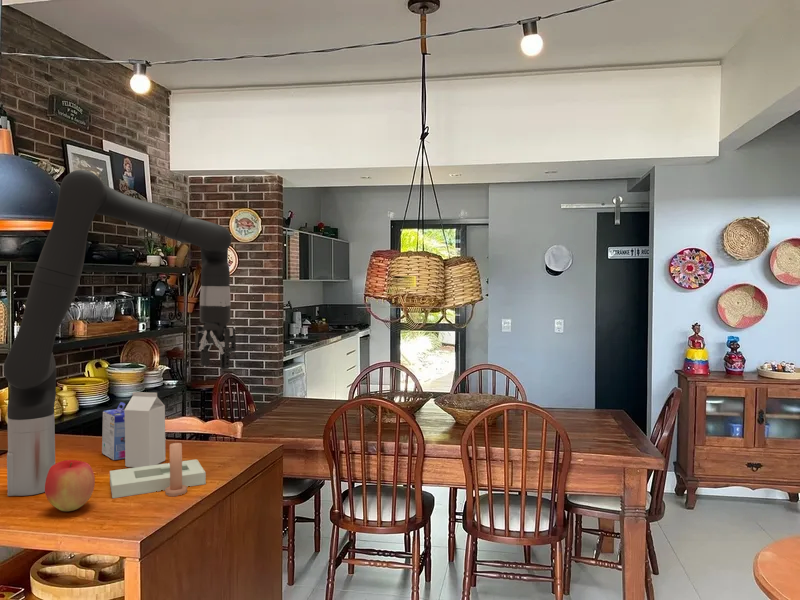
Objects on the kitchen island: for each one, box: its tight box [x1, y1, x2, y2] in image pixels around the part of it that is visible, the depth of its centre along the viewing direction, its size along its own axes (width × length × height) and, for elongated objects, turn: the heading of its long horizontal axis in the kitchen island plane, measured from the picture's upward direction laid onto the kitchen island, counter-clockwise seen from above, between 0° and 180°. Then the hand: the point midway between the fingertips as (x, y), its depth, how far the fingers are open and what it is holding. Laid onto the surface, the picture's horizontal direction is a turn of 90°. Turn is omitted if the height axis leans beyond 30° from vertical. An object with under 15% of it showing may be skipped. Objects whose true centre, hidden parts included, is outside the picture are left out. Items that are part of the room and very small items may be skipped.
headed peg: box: [164, 442, 188, 497], centre depth 136 cm, size 5×5×11 cm
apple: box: [44, 459, 96, 512], centre depth 126 cm, size 10×10×10 cm
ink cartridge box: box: [101, 401, 127, 461], centre depth 166 cm, size 10×6×14 cm, turn 44°
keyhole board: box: [109, 458, 207, 499], centre depth 143 cm, size 20×12×3 cm, turn 118°
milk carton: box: [124, 391, 166, 468], centre depth 158 cm, size 7×7×19 cm
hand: (214, 367), depth 154 cm, fingers open, 8 cm apart
